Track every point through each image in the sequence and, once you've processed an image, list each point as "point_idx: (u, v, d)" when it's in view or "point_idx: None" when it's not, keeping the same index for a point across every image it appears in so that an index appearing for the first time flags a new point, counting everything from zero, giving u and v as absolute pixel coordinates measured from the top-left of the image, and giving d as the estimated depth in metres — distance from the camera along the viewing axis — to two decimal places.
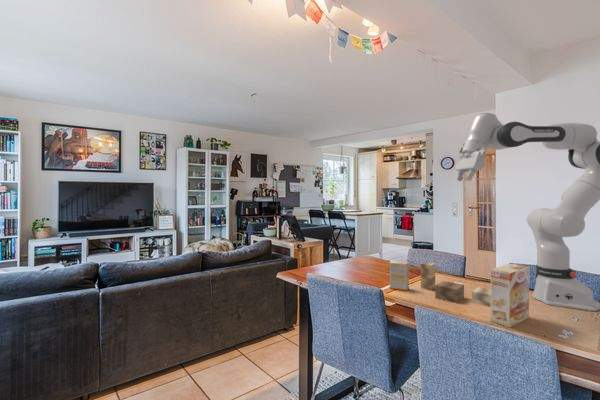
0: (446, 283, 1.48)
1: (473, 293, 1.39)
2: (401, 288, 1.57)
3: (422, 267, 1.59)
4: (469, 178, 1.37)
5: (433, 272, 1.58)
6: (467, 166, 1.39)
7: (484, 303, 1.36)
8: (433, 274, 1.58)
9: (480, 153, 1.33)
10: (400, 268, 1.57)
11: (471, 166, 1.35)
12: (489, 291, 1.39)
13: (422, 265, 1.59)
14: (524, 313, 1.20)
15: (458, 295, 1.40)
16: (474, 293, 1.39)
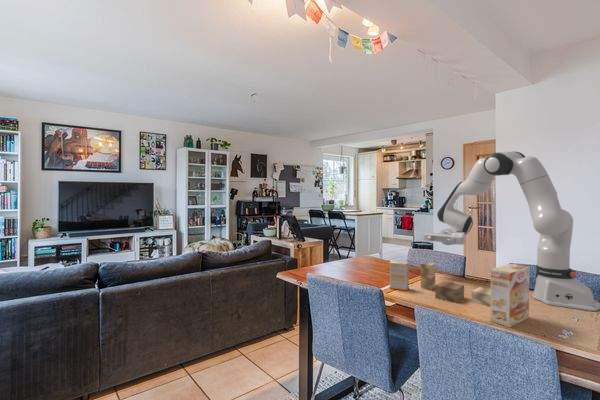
0: (446, 283, 1.48)
1: (473, 293, 1.39)
2: (401, 288, 1.57)
3: (422, 267, 1.59)
4: None
5: (433, 272, 1.58)
6: None
7: (483, 303, 1.36)
8: (433, 274, 1.58)
9: None
10: (400, 268, 1.57)
11: (427, 240, 1.77)
12: (489, 291, 1.39)
13: (422, 265, 1.59)
14: (524, 313, 1.20)
15: (458, 295, 1.40)
16: (473, 293, 1.39)
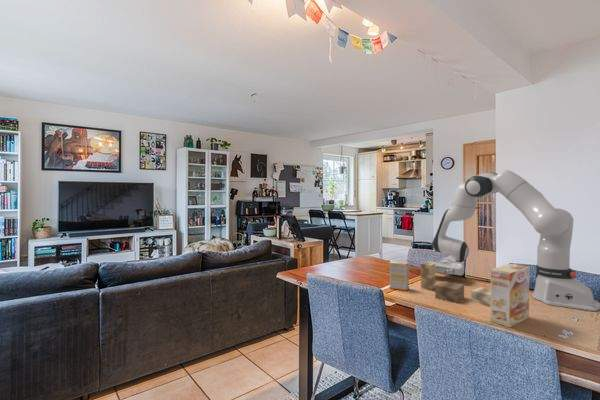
0: (446, 283, 1.48)
1: (472, 292, 1.40)
2: (401, 288, 1.57)
3: (422, 267, 1.59)
4: None
5: (433, 272, 1.58)
6: None
7: (482, 303, 1.36)
8: (433, 274, 1.58)
9: None
10: (400, 268, 1.57)
11: None
12: (489, 291, 1.38)
13: (422, 265, 1.59)
14: (524, 313, 1.20)
15: (458, 295, 1.40)
16: (473, 292, 1.39)
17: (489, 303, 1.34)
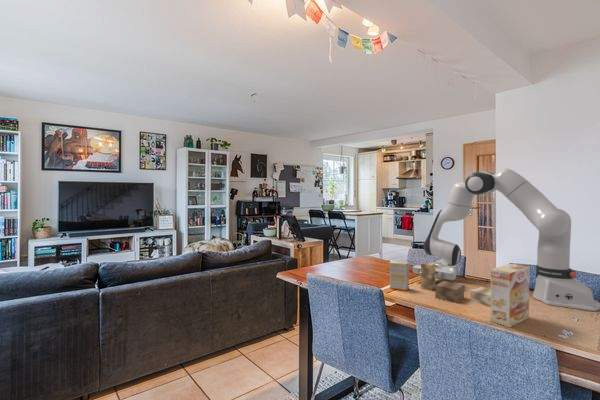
0: (446, 283, 1.48)
1: (472, 292, 1.40)
2: (401, 288, 1.57)
3: (422, 267, 1.59)
4: None
5: (433, 272, 1.58)
6: None
7: (481, 303, 1.37)
8: None
9: None
10: (400, 268, 1.57)
11: (417, 273, 1.68)
12: (489, 291, 1.38)
13: (422, 265, 1.59)
14: (524, 313, 1.20)
15: (458, 295, 1.40)
16: (473, 292, 1.40)
17: (488, 303, 1.34)
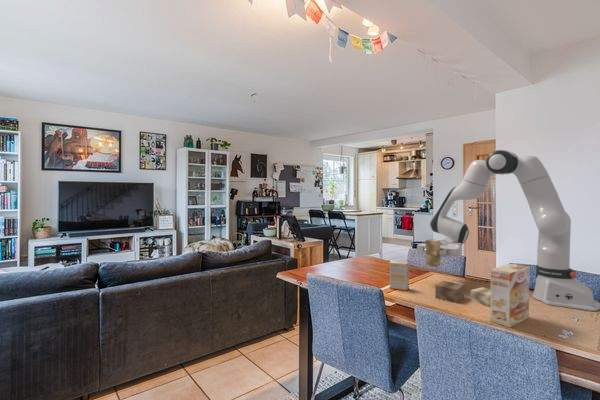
0: (446, 283, 1.48)
1: (471, 292, 1.41)
2: (401, 288, 1.57)
3: (427, 244, 1.55)
4: None
5: (438, 249, 1.54)
6: None
7: (481, 302, 1.37)
8: None
9: None
10: (400, 268, 1.57)
11: None
12: (489, 291, 1.38)
13: (427, 242, 1.55)
14: (524, 313, 1.20)
15: (458, 295, 1.40)
16: (472, 292, 1.40)
17: (487, 303, 1.34)
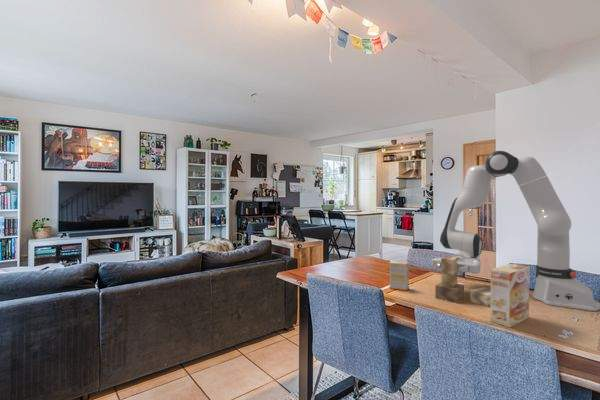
0: None
1: (471, 291, 1.41)
2: (401, 288, 1.57)
3: (443, 262, 1.44)
4: None
5: (455, 267, 1.43)
6: None
7: (480, 302, 1.37)
8: (455, 269, 1.43)
9: None
10: (400, 268, 1.57)
11: None
12: (489, 291, 1.38)
13: (443, 260, 1.44)
14: (524, 313, 1.20)
15: (458, 295, 1.40)
16: (472, 291, 1.41)
17: (485, 303, 1.35)
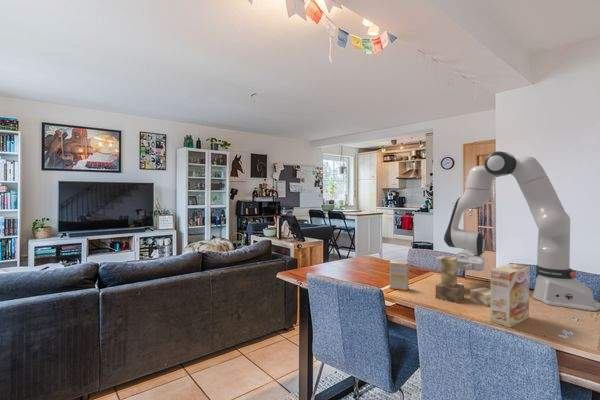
0: None
1: (471, 291, 1.41)
2: (401, 288, 1.57)
3: (443, 262, 1.44)
4: None
5: (455, 267, 1.44)
6: None
7: (479, 302, 1.37)
8: (455, 269, 1.44)
9: None
10: (400, 268, 1.57)
11: None
12: (489, 291, 1.38)
13: (443, 260, 1.44)
14: (524, 313, 1.20)
15: (458, 295, 1.40)
16: (472, 291, 1.41)
17: (485, 303, 1.35)
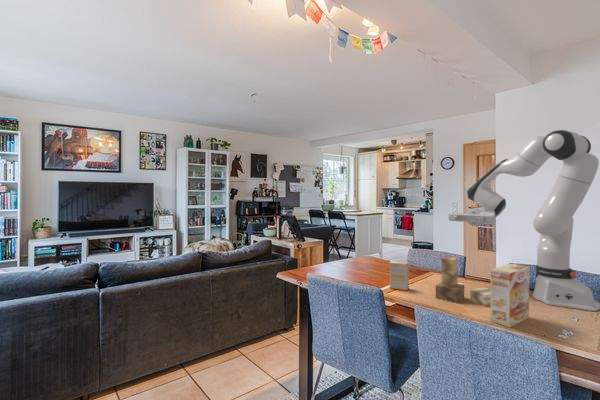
0: None
1: (471, 291, 1.42)
2: (401, 288, 1.57)
3: (443, 262, 1.44)
4: None
5: (455, 267, 1.44)
6: (461, 221, 1.60)
7: (478, 302, 1.38)
8: (455, 269, 1.44)
9: None
10: (400, 268, 1.57)
11: None
12: (489, 292, 1.38)
13: (443, 260, 1.44)
14: (524, 313, 1.20)
15: (458, 295, 1.40)
16: (472, 291, 1.41)
17: (483, 302, 1.35)
